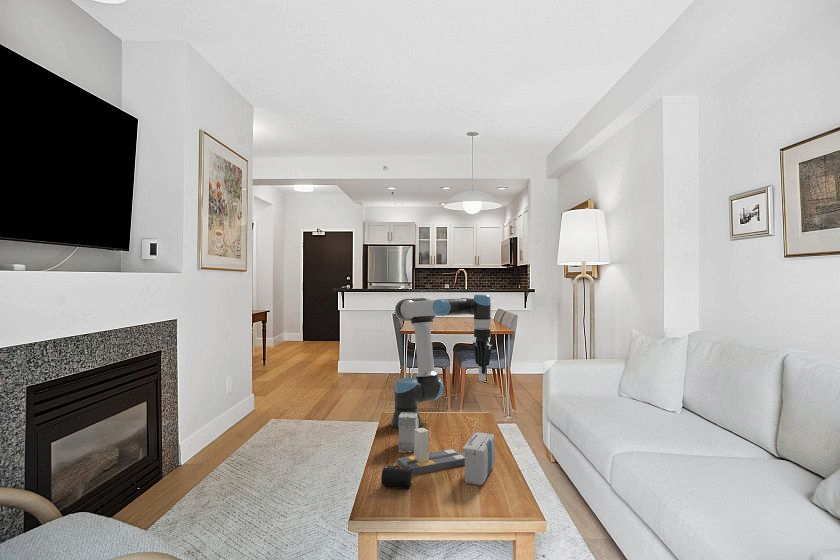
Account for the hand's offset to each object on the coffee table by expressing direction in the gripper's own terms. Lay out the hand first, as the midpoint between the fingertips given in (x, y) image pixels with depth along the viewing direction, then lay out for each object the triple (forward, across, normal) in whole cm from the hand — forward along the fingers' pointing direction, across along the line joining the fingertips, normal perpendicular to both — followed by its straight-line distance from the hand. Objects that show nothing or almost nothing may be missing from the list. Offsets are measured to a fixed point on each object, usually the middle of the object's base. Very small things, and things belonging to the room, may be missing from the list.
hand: (482, 380), depth 219 cm
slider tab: (+26, -13, +37) cm, 47 cm away
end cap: (+29, -26, +53) cm, 66 cm away
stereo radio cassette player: (+29, -30, +21) cm, 46 cm away
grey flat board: (+28, -13, +32) cm, 45 cm away
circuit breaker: (+29, +10, +32) cm, 44 cm away
